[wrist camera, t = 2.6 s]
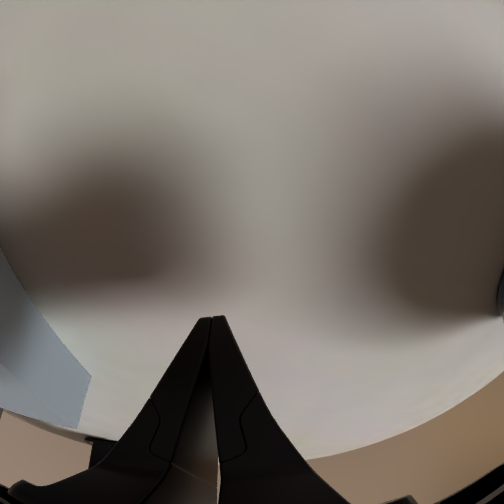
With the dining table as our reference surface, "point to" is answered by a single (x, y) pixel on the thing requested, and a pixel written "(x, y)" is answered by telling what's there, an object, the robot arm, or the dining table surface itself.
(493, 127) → the dining table surface
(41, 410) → the boxed book
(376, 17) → the dining table surface
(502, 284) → the canister
